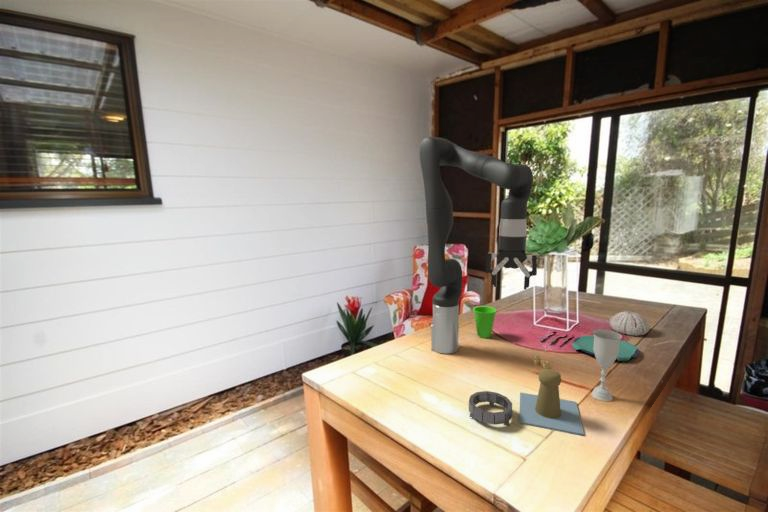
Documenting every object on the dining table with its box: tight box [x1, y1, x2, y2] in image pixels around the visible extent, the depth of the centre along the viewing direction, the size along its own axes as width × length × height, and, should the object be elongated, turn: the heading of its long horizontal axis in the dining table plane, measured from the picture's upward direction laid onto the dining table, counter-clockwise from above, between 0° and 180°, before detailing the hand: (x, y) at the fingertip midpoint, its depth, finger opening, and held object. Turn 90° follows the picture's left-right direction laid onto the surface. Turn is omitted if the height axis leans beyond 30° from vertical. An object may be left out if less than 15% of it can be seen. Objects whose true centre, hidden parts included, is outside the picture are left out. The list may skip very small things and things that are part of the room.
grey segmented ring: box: [468, 390, 513, 427], centre depth 91 cm, size 10×10×4 cm
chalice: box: [590, 328, 623, 402], centre depth 97 cm, size 7×7×18 cm
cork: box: [535, 368, 562, 419], centre depth 90 cm, size 6×6×11 cm
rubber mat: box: [518, 392, 585, 437], centre depth 91 cm, size 14×14×1 cm
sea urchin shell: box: [609, 310, 650, 337], centre depth 143 cm, size 13×14×8 cm
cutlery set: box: [539, 332, 639, 362], centre depth 130 cm, size 20×30×2 cm, turn 45°
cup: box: [472, 305, 498, 339], centre depth 141 cm, size 9×9×11 cm
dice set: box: [533, 355, 550, 369], centre depth 118 cm, size 5×5×2 cm
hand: (510, 287), depth 107 cm, fingers open, 8 cm apart
